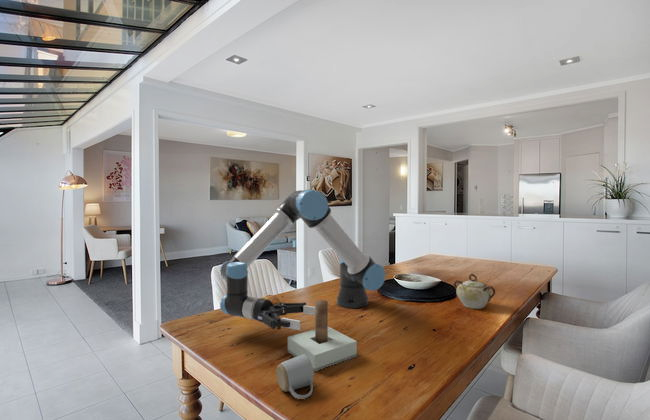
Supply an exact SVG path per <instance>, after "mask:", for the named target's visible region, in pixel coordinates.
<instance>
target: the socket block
mask: <svg viewBox="0 0 650 420" xmlns="http://www.w3.org/2000/svg"><path fill="white" fill-rule="evenodd" d="M357 345H358V343H357V340H355V339H353V338H352V337H349V336H348V335H345V334H343V333H342V332H340V331H338V330H336V329H334V328H332V327H330V326H328V342H325V343H321V344H318V343H317V342H315V328H314V329H311V330H306V331H303V332H300V333H297V334H293V335H289V336H287V353H289V355H291V354H292V355H291V356H293V358H295V357H297V356H300V355H302V354H305V355H306V356H307V357H308V358H309V360H310V362H311V364H312V367H313V371H317V370H320V369H322V370H324V369H323V368H325V367H328V366H330V367H332V366H331V365H333V366H335V365H334V364H336V365H337V363H338V364H340V363H339V362H341V363H343V362H342V361H344V362H346V361H349V360H351V358H352V359H354V358H357V351H358V349H357V347H358V346H357ZM353 357H354V358H353ZM348 359H349V360H348ZM345 360H346V361H345ZM328 368H329V367H328ZM325 369H326V368H325ZM320 371H321V370H320ZM317 372H318V371H317Z"/></svg>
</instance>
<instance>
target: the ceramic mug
mask: <svg viewBox="0 0 650 420" xmlns="http://www.w3.org/2000/svg"><path fill="white" fill-rule="evenodd" d="M275 371H276V379H277V383H278V386H279V388H280V389H281V390H282V391H283V392H287V393H288V392H289V393H290V394H291V395H292V397H294V399H296V398H297V399H296V400H299V399H302V398H307V397H309V396H310V395H311V396H312V394H313V390H314V385H313V383H314V378H315V372H314V371H313V367H312V364H311V362H310V360H309V358H308V357H307V356H306V355H305V354H302V355H300V356H297V357H292V358H290V359H286V360H284V361H282V362H281V363H278V365H277V366H276V370H275ZM307 386H310V387H309V388H310V390H309V392H308V393H307V394H298V393H297V392H296V391H295V390H298V389H301V388H304V387H307ZM311 396H310V397H311ZM310 397H309V398H310ZM298 398H299V399H298ZM307 399H308V398H307Z"/></svg>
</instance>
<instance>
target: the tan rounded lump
mask: <svg viewBox="0 0 650 420" xmlns="http://www.w3.org/2000/svg"><path fill="white" fill-rule="evenodd" d="M263 299H267V300H270V301H271V302H272V304H273V305H279V303H281V301H280V299H279V298H278V297H277V296H276V295H272V294H267V295H265V296H264V298H263Z"/></svg>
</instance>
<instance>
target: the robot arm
mask: <svg viewBox="0 0 650 420" xmlns="http://www.w3.org/2000/svg"><path fill="white" fill-rule="evenodd" d="M331 214H332V209H331V207H330V206H329V201H328V199H327V196H326V195H324V194H323V193H322V192H321V191H319V190H315V189H305V190H301V189H300V190H296V191H294V192H291V194H290V195H288V196H287V197H286V198H285V199H284V200H283V201H282V203H281V204H280V205H279V206H277V208H276V209H275V213H274V214H273V215H272V216H271V217H270V218H269V219H268V221H267V222H265V223H264V225H262V227H261V228H260V229H259V230H258V231H257V232H256V233H254V235H252V237H251V238H250V239H249V240H248V241H247V242H246V243H245V244H244V245H243V246H242V247H241V248H240V249H239V250H237V252H236V253H235V254H234V255H233V256H232V257H230V259H229V260H227V261H225V262H223V263H222V264H221V266H220V270H219V271H220V276H221V278H222V279H223V280H224V281H225V283H226V294H224V295H223V296H222V297H221V302H220V303H219V308H220V310H221V312H222V314H225V315H229V316H231V317H238V318H244V319H249V320H251V321H255V320H256V321H258V322H260V323H263V324H264V325H265V326H268V327H269V328H271V329H272V330H275V329H276V330H279V331H280V330H281V329H282V328H285V329H286V328H287V329H290V330H296V331H300V330H301V320H298V319H293V318H292V319H291V318H287V317H281V316H286V315H289V314H298V313H301V314H302V313H303V314H305V315H311V316H315V306H311V305H307V303H306V302H283V301H282V302H281V301H280V303H279V305H273V304H272V302H271V301H270V300H267V299H264V298H261V297H255V296H249V295H248V293H249V290H248V286H249V285H248V278H249V276H248V275H249V270H248V269H249V267H250V266H251V265H252V264H253V263H254V262H255V261H256V260H257V259H258V257H260V256H261V255H262V253H264V251H266V249H267V248H268V247H269V246H270V245H271V244H272V243H273V242H274V241H275V240H276V239H277V238H278V237H279V236H280V235H281V234H282V233H283V232H284V231H285V230H286V228H287V227H288V226H291V225H294V223H295V222H297V221H298V220H300V219H301V220H302V221H303V222H304V223H305V225H306V226H307V227H308V228H309V229H315V230H316V231H317V233H318V234H319V235H320V236H321V238H322V239H323V240H324V241H325V242H326V243H327V244H328V245H329V247H330V248H332V250H333V251H334V252H335V253H336V255H337V256H338V258H340V261H339V272H340V273H339V274H340V275H339V277H340V278H339V281H340V283H339V286H340V288H339V290H338V291H339V292H338V294H337V297H336V304H337V305H338V306H339V307H342V308H347V309H359V308H364V307H367V306H368V305H369V297H368V294H367V291H371V292H373V291H377V290H379V289H380V288H381V287H383V285H384V283H385V281H386V270H385V268H384V267H383V266H382V265H381V264H379V263H376V262H375V261H374V259H372V257H371V256H370V255H369V254H368V253H364V252H362V251H361V250H360V248H359V247H358V246H357V245H356V244H355V243H354V241H353V240H352V239H351V238H350V236H349V235H348V234H347V232H345V230H344V229H343V228H342V227H341V225H340V224H339V223H338V222H337V221H336V219H335V218H334V217H333V216H332V215H331ZM280 317H281V318H280Z"/></svg>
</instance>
